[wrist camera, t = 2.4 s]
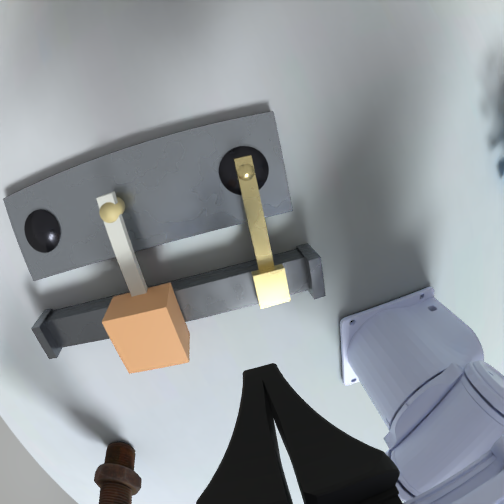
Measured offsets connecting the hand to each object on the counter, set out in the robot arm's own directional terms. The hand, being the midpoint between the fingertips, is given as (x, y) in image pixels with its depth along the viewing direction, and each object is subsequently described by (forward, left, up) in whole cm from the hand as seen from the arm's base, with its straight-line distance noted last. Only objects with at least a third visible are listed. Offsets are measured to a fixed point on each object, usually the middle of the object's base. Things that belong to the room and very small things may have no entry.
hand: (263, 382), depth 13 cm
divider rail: (+5, -3, -10) cm, 12 cm away
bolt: (+17, +17, -10) cm, 26 cm away
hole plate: (+5, -7, -10) cm, 13 cm away
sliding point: (+6, -3, -9) cm, 11 cm away
